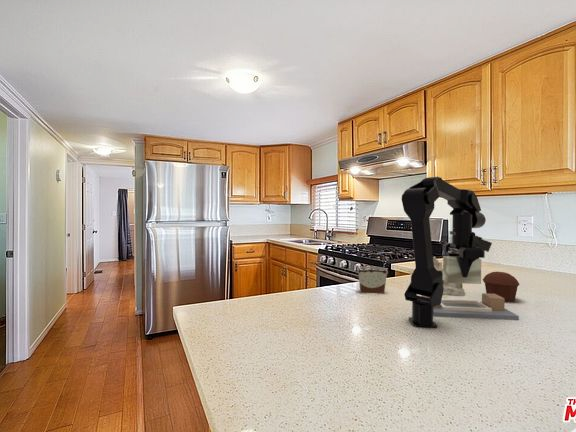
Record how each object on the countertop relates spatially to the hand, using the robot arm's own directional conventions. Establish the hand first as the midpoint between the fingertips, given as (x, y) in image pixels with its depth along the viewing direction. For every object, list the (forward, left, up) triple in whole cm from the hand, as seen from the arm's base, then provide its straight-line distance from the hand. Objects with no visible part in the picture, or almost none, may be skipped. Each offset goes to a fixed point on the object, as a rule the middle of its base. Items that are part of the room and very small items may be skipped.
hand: (461, 275), depth 105 cm
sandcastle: (+27, -4, -12) cm, 30 cm away
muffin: (+17, -21, -12) cm, 29 cm away
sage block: (0, 0, -2) cm, 2 cm away
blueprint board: (0, 0, -12) cm, 12 cm away
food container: (+21, +26, -12) cm, 36 cm away
